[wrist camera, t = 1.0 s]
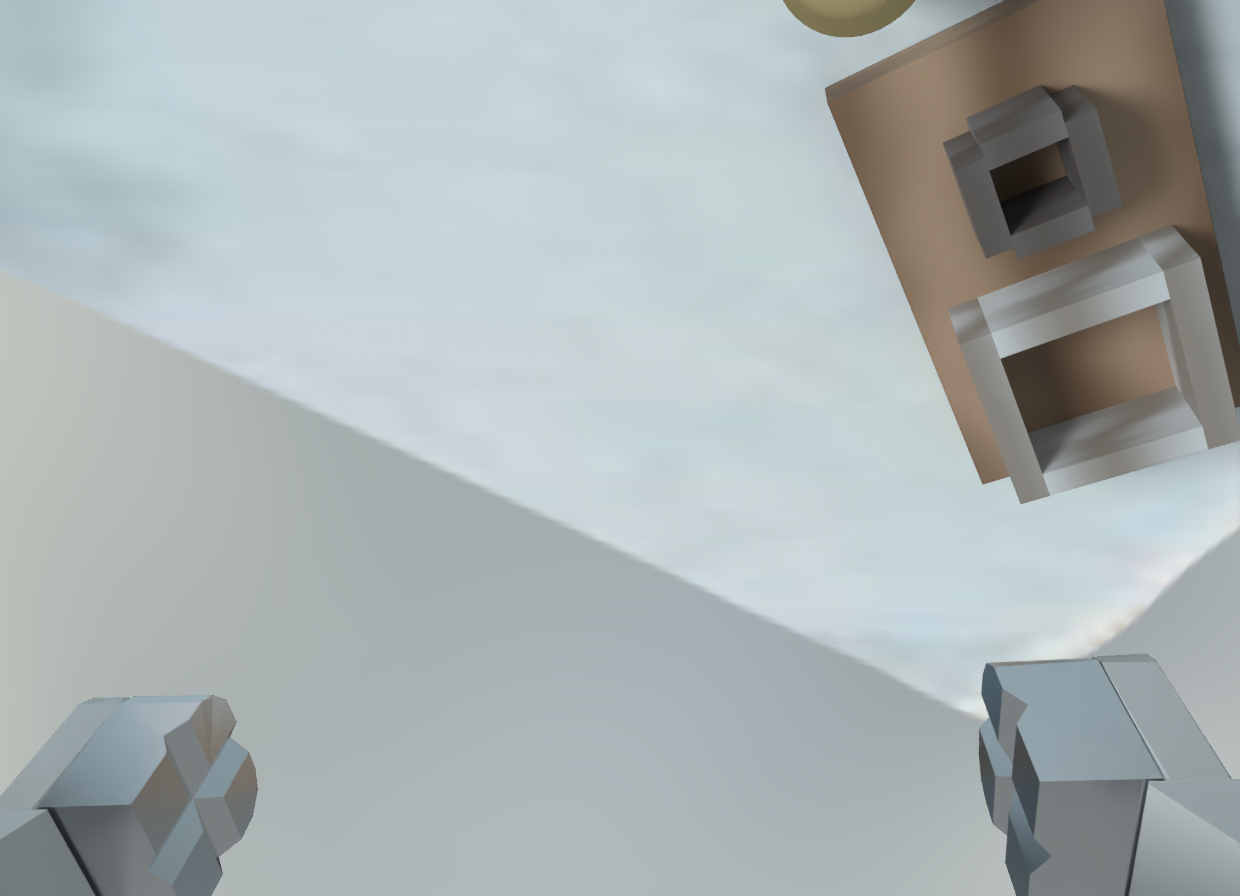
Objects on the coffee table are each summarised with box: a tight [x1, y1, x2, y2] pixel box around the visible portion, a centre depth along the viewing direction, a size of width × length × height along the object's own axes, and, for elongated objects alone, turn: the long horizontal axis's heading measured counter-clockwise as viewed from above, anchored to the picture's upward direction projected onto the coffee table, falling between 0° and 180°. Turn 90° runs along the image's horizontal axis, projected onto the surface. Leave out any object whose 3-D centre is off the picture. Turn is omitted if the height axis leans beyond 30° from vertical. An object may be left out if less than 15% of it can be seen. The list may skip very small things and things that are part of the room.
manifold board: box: [825, 0, 1240, 504], centre depth 37 cm, size 11×19×5 cm, turn 29°
